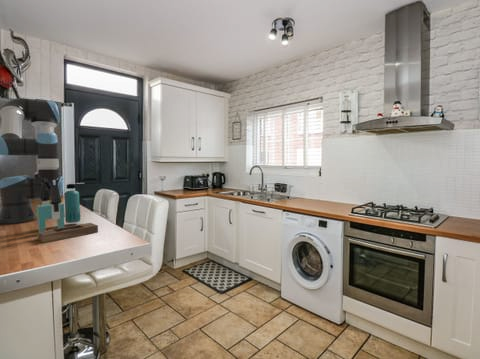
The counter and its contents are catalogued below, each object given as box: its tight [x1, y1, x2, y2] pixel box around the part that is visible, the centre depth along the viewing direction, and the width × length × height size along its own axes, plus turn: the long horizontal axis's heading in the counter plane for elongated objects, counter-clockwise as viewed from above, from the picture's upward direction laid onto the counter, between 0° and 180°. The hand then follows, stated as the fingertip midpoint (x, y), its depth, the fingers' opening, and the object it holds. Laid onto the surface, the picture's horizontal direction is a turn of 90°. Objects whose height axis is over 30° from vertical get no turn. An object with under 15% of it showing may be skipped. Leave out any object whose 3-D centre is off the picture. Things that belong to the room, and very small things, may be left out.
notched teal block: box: [36, 202, 65, 231], centre depth 119 cm, size 3×9×12 cm, turn 140°
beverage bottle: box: [63, 183, 81, 224], centre depth 132 cm, size 6×7×20 cm
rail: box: [36, 222, 99, 244], centre depth 114 cm, size 8×20×3 cm, turn 140°
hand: (51, 217), depth 119 cm, fingers open, 13 cm apart
